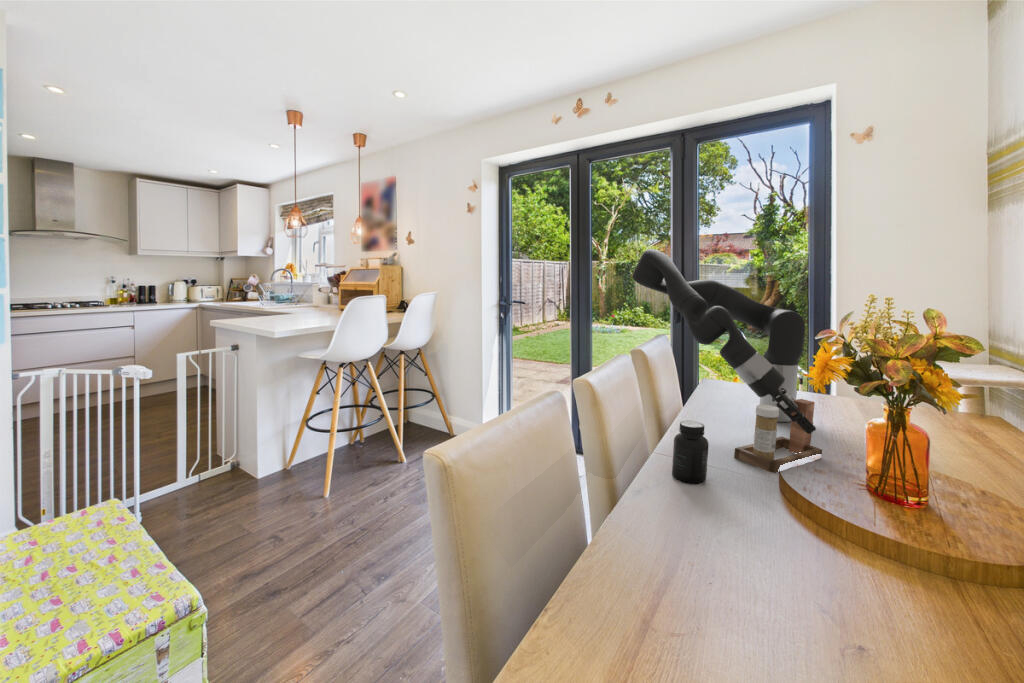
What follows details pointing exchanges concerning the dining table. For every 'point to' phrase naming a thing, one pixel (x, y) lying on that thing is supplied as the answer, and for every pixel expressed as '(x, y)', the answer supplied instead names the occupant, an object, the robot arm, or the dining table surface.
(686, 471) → the supplement bottle
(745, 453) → the wooden frame tray
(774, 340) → the robot arm
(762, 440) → the sprinkles bottle
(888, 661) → the dining table surface
